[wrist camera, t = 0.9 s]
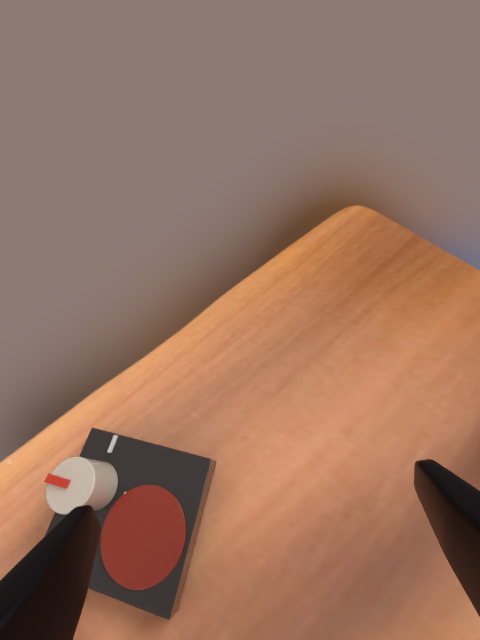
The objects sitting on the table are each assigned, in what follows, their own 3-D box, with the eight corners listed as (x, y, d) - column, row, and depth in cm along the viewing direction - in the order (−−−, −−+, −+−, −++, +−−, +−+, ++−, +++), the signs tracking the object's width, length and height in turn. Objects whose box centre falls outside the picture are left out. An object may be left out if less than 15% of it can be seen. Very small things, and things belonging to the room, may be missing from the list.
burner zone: (169, 603, 22) (168, 604, 21) (87, 572, 23) (85, 572, 23) (197, 497, 24) (196, 497, 24) (122, 475, 26) (121, 475, 26)
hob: (178, 610, 23) (168, 621, 21) (34, 555, 26) (14, 560, 24) (216, 461, 27) (211, 459, 25) (90, 427, 30) (76, 423, 28)
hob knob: (125, 467, 26) (101, 463, 23) (106, 517, 24) (77, 521, 21) (87, 456, 27) (58, 450, 23) (66, 504, 25) (32, 506, 22)
